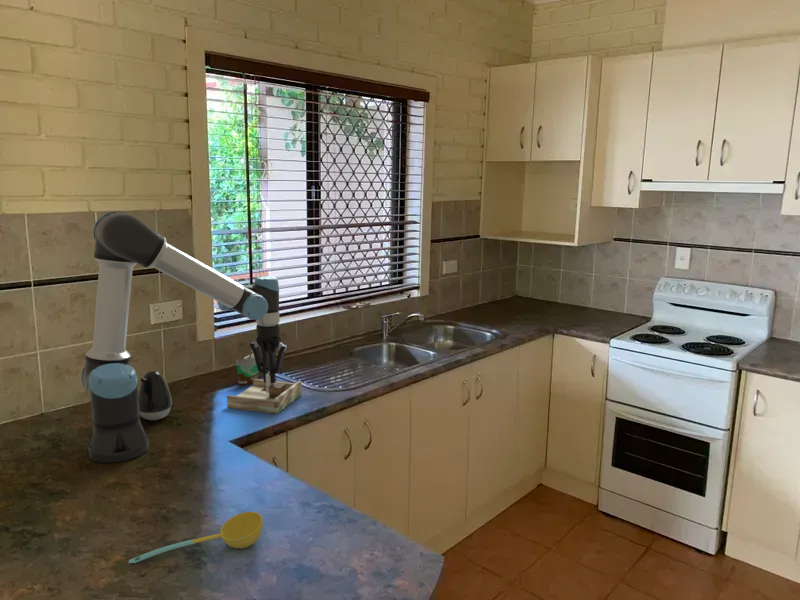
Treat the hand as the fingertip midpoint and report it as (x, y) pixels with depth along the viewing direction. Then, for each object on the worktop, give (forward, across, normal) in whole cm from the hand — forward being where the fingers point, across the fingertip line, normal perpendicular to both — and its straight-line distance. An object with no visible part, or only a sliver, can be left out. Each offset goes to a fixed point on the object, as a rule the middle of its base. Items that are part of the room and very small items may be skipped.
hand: (270, 391), depth 207 cm
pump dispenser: (+4, +28, +23) cm, 36 cm away
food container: (+4, +16, -16) cm, 23 cm away
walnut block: (+2, -3, 0) cm, 3 cm away
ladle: (+4, -25, +80) cm, 84 cm away
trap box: (+4, +2, 0) cm, 4 cm away
